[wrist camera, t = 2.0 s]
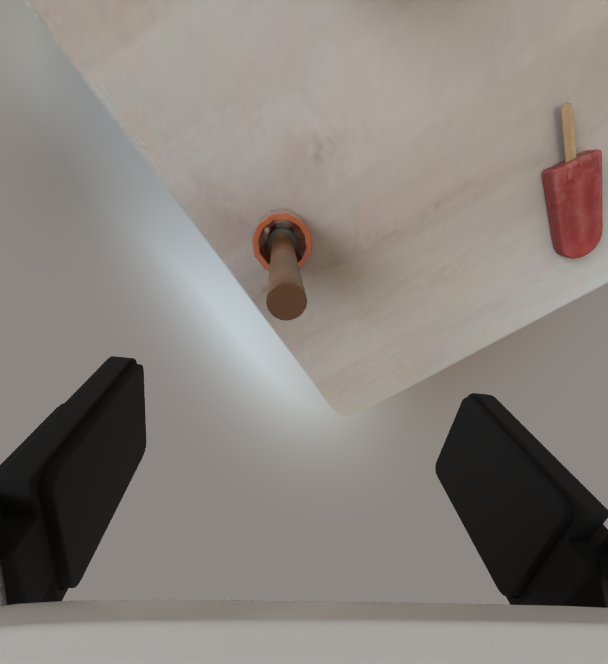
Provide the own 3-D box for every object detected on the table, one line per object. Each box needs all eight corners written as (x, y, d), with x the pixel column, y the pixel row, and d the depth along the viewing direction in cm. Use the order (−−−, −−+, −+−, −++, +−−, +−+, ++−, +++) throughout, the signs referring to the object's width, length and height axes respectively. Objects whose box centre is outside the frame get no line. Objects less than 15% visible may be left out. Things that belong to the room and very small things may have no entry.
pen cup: (246, 229, 33) (240, 238, 28) (286, 198, 32) (288, 200, 27) (277, 269, 35) (276, 284, 30) (316, 240, 34) (322, 251, 29)
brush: (263, 233, 33) (245, 296, 15) (284, 216, 32) (292, 261, 14) (279, 254, 34) (280, 339, 15) (300, 239, 33) (326, 307, 15)
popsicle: (599, 88, 28) (607, 247, 35) (582, 93, 30) (592, 244, 36) (547, 114, 29) (564, 266, 35) (533, 117, 31) (552, 262, 37)
